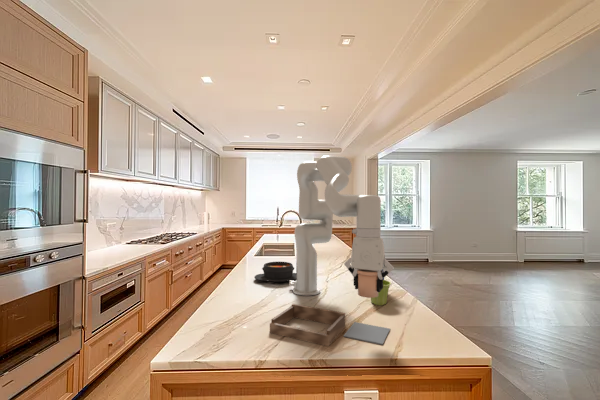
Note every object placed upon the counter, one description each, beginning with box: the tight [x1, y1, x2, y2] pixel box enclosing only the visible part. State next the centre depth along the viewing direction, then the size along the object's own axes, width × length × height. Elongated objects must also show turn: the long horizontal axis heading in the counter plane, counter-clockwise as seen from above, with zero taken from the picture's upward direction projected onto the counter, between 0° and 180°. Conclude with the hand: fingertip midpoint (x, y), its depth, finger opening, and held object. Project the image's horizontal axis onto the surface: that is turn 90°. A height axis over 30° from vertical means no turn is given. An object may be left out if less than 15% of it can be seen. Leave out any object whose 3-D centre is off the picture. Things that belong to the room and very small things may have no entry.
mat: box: [343, 321, 391, 346], centre depth 100 cm, size 12×12×1 cm
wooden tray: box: [269, 303, 346, 347], centre depth 103 cm, size 20×16×4 cm
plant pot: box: [370, 279, 392, 306], centre depth 129 cm, size 9×9×9 cm
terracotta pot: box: [357, 269, 378, 299], centre depth 100 cm, size 7×7×8 cm
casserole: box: [254, 261, 296, 284], centre depth 164 cm, size 25×19×8 cm
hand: (368, 289), depth 100 cm, fingers closed on terracotta pot, 6 cm apart
